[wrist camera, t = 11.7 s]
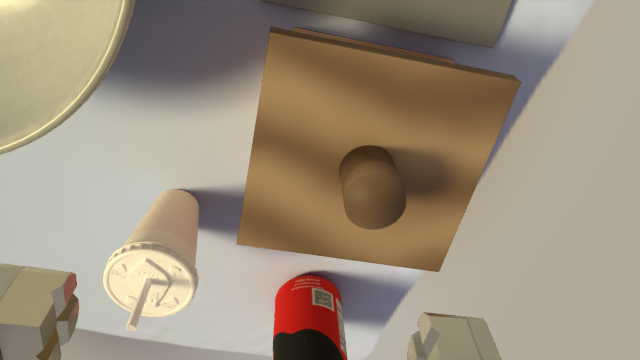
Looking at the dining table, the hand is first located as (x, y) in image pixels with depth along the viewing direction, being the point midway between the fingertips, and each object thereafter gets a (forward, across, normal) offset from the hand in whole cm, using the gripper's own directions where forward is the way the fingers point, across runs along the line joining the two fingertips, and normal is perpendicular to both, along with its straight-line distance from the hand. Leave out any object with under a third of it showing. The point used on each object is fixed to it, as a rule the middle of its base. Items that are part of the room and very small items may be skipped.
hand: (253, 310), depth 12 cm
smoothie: (+27, +6, +18) cm, 33 cm away
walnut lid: (+20, -7, +7) cm, 22 cm away
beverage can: (+27, -6, +26) cm, 38 cm away
